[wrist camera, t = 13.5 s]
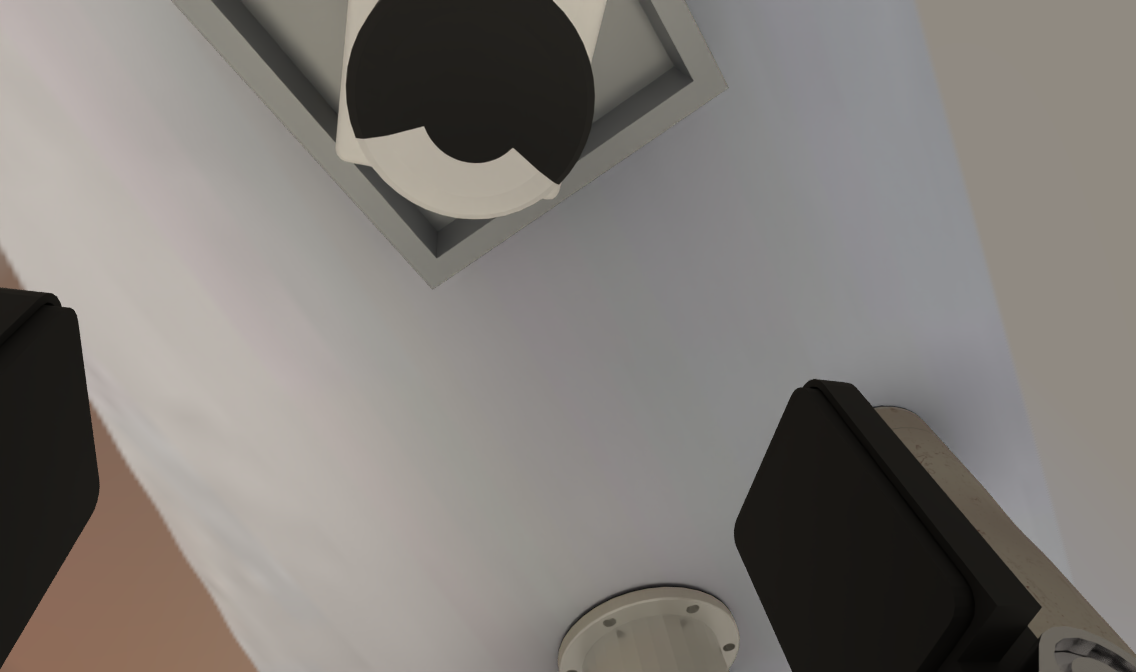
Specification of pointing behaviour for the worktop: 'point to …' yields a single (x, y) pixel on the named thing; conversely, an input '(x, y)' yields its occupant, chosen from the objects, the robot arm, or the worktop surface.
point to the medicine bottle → (468, 98)
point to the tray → (424, 238)
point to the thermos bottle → (1000, 532)
